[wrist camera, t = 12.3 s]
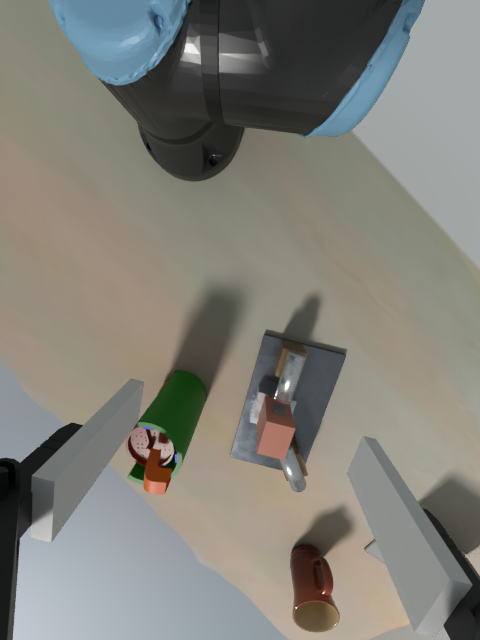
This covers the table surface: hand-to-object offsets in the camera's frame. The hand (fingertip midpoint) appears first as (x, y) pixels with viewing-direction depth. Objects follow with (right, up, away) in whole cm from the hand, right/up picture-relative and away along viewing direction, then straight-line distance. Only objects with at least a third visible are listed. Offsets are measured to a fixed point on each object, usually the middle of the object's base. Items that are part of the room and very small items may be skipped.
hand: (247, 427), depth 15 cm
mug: (+15, -46, +42) cm, 64 cm away
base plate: (+8, -11, +34) cm, 36 cm away
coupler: (+5, -11, +31) cm, 33 cm away
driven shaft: (+9, -18, +35) cm, 40 cm away
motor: (-11, -8, +35) cm, 37 cm away
